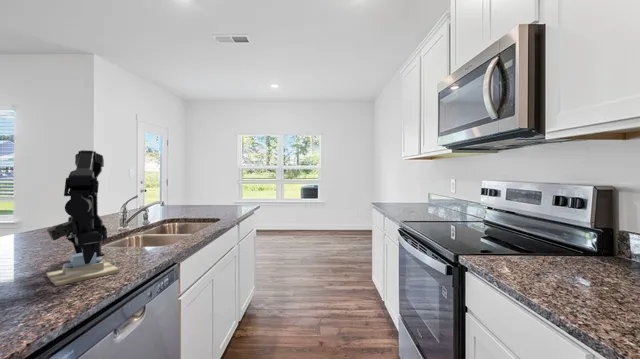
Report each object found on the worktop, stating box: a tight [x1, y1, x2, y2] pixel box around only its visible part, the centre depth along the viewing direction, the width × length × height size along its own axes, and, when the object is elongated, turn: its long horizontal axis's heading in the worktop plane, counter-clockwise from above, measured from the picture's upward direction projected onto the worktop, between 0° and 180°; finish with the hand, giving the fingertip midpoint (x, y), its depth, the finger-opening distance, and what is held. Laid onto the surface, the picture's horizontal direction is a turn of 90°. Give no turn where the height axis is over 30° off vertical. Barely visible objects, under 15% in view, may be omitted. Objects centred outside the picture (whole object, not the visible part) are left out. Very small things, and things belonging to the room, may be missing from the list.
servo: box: [63, 253, 103, 268], centre depth 98 cm, size 4×9×6 cm, turn 140°
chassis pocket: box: [46, 260, 120, 287], centre depth 98 cm, size 14×16×3 cm
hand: (83, 261), depth 98 cm, fingers open, 9 cm apart
